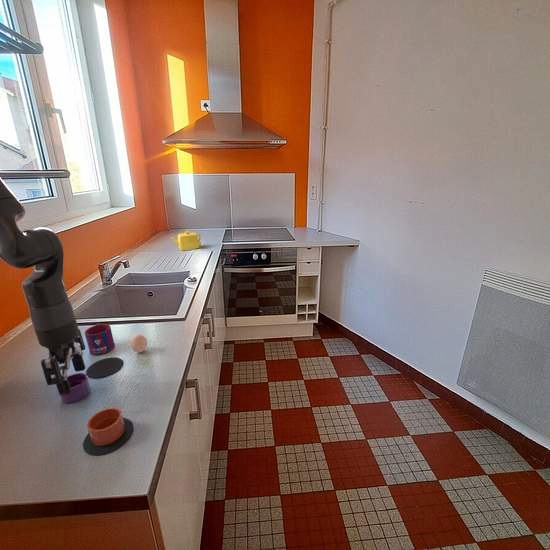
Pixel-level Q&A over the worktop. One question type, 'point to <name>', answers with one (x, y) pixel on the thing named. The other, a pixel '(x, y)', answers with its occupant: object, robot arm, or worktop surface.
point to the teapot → (187, 241)
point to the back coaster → (104, 367)
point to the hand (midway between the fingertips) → (73, 381)
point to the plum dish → (76, 388)
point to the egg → (138, 343)
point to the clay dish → (106, 426)
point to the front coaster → (109, 448)
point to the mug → (99, 339)
